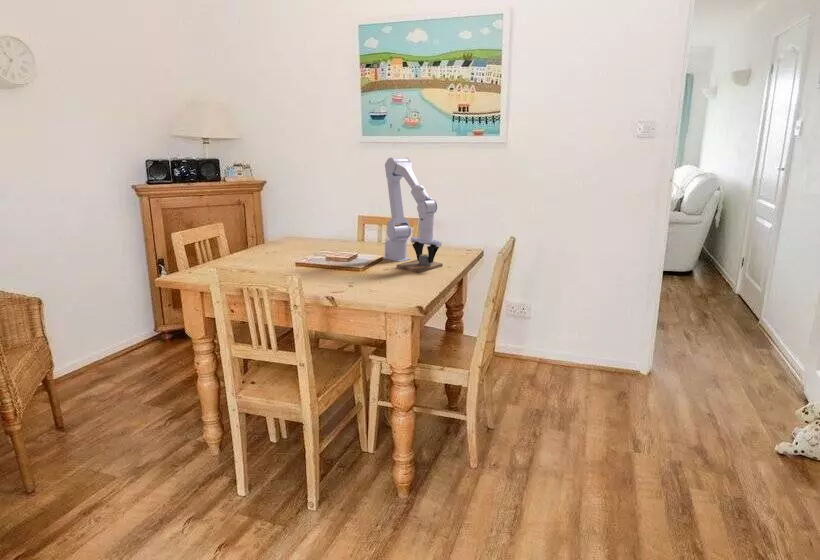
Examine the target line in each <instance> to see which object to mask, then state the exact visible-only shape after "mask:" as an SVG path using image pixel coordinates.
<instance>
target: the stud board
mask: <svg viewBox="0 0 820 560" xmlns="http://www.w3.org/2000/svg"><path fill="white" fill-rule="evenodd" d="M443 266H444V265H443V263H441V262H437V261H433V262H432V263H431V265H430V266H421V265H419V261H418V260H417V259H414V260H411V261H406V262H403V263H399V264H396V269H401V270H405V271H410V272H412V273H413V272H414V273H419V274H420V273H423V272H427V271H431V270H434V269H437V268H438V269H439V268H442V267H443Z"/></svg>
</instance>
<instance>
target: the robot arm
mask: <svg viewBox="0 0 820 560" xmlns="http://www.w3.org/2000/svg"><path fill="white" fill-rule="evenodd" d="M384 168H385V170H384V171H385V177H386V182H387V189H388V191H387V192H388V197H389V198H388V199H389V205H390V214H391V215H390V216H391V218H390V219H389V221H387V223H386V227H387V228H386V236H387V237H388V238H387V239H386V241H385V243H384V257H383V259H385V260H390V261H393V262H399V263H401V262H405V261H408V260H411V257H409V256H408V255H407V253H408V251H407V250H408V248H407V247H408V240H409V238H410V242H411V243H413V244H412V247H413V249H414V251H415V252H414V253H415V255H416V260H418V261H419V255H420V254H423V250H424V246H425V245H428V246H427V247H426V249H427V254H428V255H429V258H428V261H429V263H432V262H434V259H435V257H436V254H437V252H438V250H439V248H441V247H442V244H443V243H442V241H440V240H439V241H438V240H435V239H434V221H435V217H434V215H435V213H437V210H438V204H437V200H435V199H434V198H433V197H430V195H429V194H428V192H427V191H426V189H425V186H424V185H422V184H419V182H418V179H417V177H416V175H415V173H414V171H413V170H412V169H413V163H412V162H411V160H410V158H409V157H389V158H387V159H386V161H385V163H384ZM402 178H404V180H405V181H406V183H407V184H408V186H409V187H410V188H411V190H410V194H411V195H412V197H413V200H414V201H415V202H416V204H417V206H416V209H417V213H418V219H419V230H418V231H419V232H418V237H416V236H413V237H412V236H411V235H412V227H411V225H410V220H409V219H407V218H406V217H405V215H404V207H403V206H404V205H403V199H402V191H401V182H400V181H401V180H402Z"/></svg>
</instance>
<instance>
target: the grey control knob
mask: <svg viewBox="0 0 820 560" xmlns="http://www.w3.org/2000/svg"><path fill="white" fill-rule="evenodd" d="M428 258H429V255H428V253H422V254H420V255H419V265H421V266H430V265H431V263H429V261H428Z"/></svg>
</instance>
